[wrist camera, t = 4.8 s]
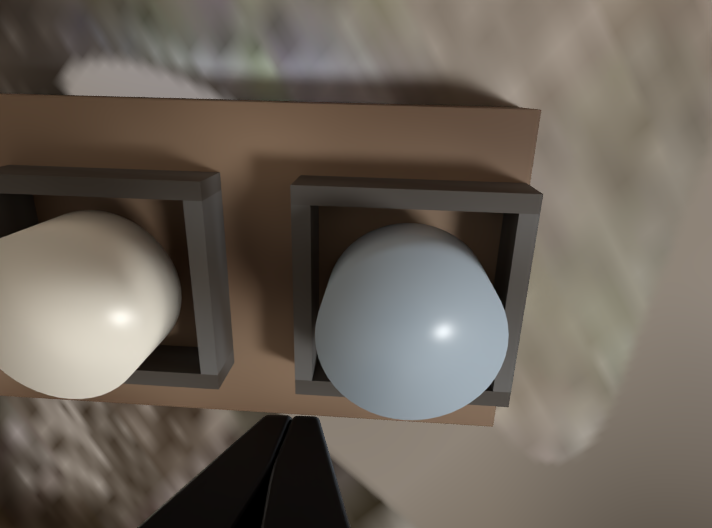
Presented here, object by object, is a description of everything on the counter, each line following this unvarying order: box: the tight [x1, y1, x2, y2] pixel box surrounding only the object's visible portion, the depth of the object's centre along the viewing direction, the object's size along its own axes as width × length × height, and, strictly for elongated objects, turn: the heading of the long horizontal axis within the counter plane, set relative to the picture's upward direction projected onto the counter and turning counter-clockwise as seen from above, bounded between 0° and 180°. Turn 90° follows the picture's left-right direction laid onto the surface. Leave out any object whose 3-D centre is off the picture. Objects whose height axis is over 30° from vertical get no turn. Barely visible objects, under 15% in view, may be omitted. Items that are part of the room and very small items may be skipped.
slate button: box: [315, 223, 509, 420], centre depth 12 cm, size 4×4×2 cm
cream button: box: [0, 210, 182, 399], centre depth 12 cm, size 4×4×2 cm
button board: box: [0, 93, 543, 427], centre depth 15 cm, size 10×23×4 cm, turn 89°
